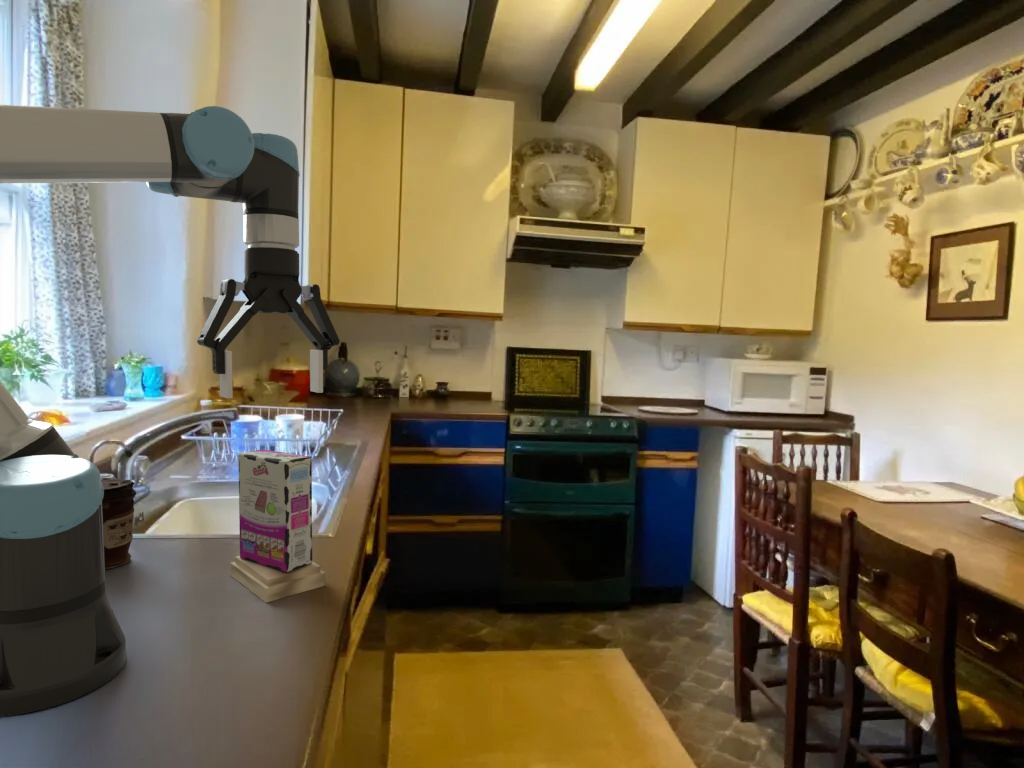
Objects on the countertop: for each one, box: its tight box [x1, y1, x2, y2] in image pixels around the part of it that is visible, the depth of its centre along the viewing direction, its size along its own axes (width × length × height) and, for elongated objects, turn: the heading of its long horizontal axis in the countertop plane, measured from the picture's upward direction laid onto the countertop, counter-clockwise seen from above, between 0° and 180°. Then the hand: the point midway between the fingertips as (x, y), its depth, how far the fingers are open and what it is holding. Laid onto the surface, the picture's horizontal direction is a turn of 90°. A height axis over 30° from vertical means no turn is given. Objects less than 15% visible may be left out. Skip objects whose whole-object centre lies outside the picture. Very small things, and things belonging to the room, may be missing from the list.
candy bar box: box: [237, 449, 313, 573], centre depth 97 cm, size 11×5×16 cm, turn 59°
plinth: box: [229, 555, 326, 603], centre depth 98 cm, size 9×13×3 cm
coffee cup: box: [101, 478, 137, 570], centre depth 103 cm, size 9×8×13 cm
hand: (273, 394), depth 95 cm, fingers open, 13 cm apart
